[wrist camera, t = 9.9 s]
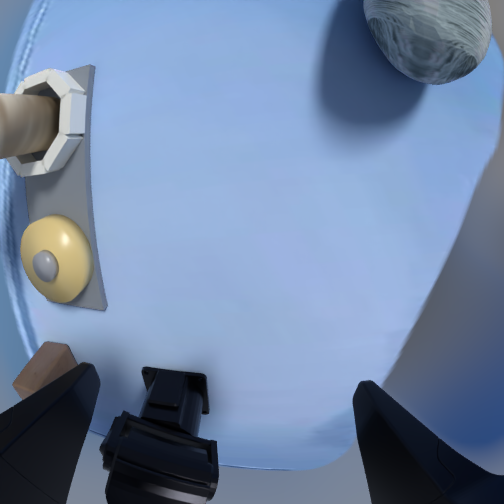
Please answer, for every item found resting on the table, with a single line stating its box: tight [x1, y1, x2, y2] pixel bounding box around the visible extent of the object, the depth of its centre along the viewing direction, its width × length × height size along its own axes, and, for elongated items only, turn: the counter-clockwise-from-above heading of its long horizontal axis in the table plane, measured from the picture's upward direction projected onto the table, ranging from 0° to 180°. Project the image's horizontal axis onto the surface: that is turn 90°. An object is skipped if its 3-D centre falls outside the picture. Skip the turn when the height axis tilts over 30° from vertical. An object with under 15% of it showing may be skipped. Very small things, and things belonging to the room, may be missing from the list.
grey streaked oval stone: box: [363, 0, 492, 85], centre depth 10 cm, size 14×10×10 cm
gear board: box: [6, 65, 108, 310], centre depth 17 cm, size 20×8×4 cm, turn 177°
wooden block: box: [12, 342, 78, 400], centre depth 21 cm, size 4×4×8 cm
